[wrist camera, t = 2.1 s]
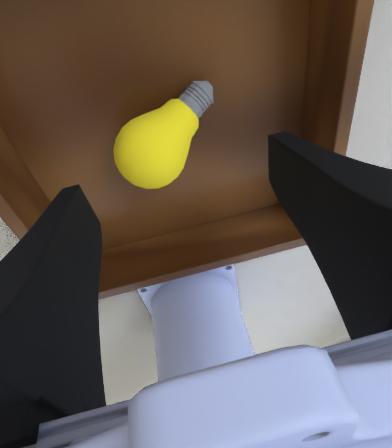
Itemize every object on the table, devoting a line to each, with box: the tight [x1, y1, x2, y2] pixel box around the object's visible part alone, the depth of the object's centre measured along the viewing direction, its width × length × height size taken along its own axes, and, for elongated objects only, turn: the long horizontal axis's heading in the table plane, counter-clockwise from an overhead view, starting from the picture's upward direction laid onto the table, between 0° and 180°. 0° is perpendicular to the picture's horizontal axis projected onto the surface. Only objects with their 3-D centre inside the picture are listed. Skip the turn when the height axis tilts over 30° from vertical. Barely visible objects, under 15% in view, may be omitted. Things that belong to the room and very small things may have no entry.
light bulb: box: [113, 81, 214, 189], centre depth 15 cm, size 3×6×4 cm, turn 130°
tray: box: [0, 0, 374, 300], centre depth 15 cm, size 17×16×4 cm
